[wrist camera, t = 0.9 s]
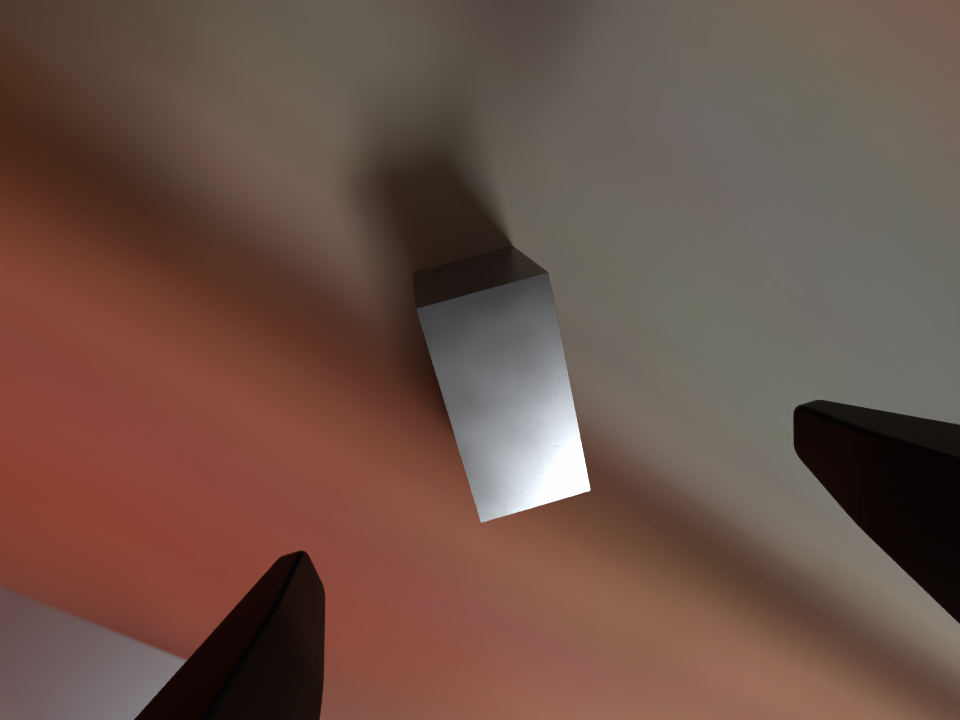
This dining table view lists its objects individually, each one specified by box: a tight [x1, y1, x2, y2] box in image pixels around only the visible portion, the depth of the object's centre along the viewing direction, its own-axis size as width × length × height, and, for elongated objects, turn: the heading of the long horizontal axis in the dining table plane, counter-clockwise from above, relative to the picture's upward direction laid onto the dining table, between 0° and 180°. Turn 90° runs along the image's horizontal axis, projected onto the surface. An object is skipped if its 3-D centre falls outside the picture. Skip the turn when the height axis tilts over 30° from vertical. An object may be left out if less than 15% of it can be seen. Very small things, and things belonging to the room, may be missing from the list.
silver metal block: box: [413, 246, 590, 523], centre depth 14 cm, size 3×6×4 cm, turn 13°
